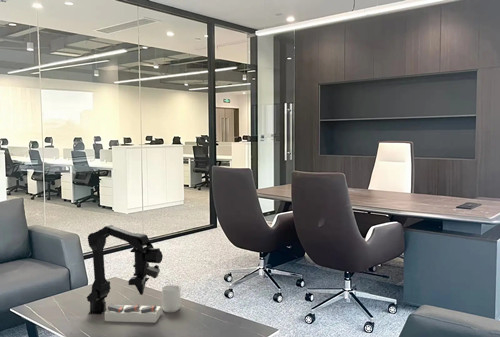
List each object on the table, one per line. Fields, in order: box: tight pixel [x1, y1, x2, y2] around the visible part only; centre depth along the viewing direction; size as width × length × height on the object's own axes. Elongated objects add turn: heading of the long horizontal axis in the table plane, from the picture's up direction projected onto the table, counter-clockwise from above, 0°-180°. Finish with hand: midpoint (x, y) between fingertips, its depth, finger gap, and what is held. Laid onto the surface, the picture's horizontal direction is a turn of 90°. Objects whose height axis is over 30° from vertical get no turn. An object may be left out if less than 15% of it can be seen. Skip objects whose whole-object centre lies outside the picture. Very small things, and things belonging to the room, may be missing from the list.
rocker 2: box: [124, 304, 140, 313], centre depth 202 cm, size 6×3×2 cm, turn 88°
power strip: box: [104, 304, 162, 323], centre depth 204 cm, size 24×10×4 cm, turn 87°
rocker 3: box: [141, 304, 157, 313], centre depth 202 cm, size 6×3×2 cm, turn 88°
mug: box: [161, 284, 182, 313], centre depth 217 cm, size 12×9×11 cm
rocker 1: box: [107, 303, 124, 312], centre depth 203 cm, size 6×3×2 cm, turn 87°
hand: (141, 294), depth 202 cm, fingers closed
